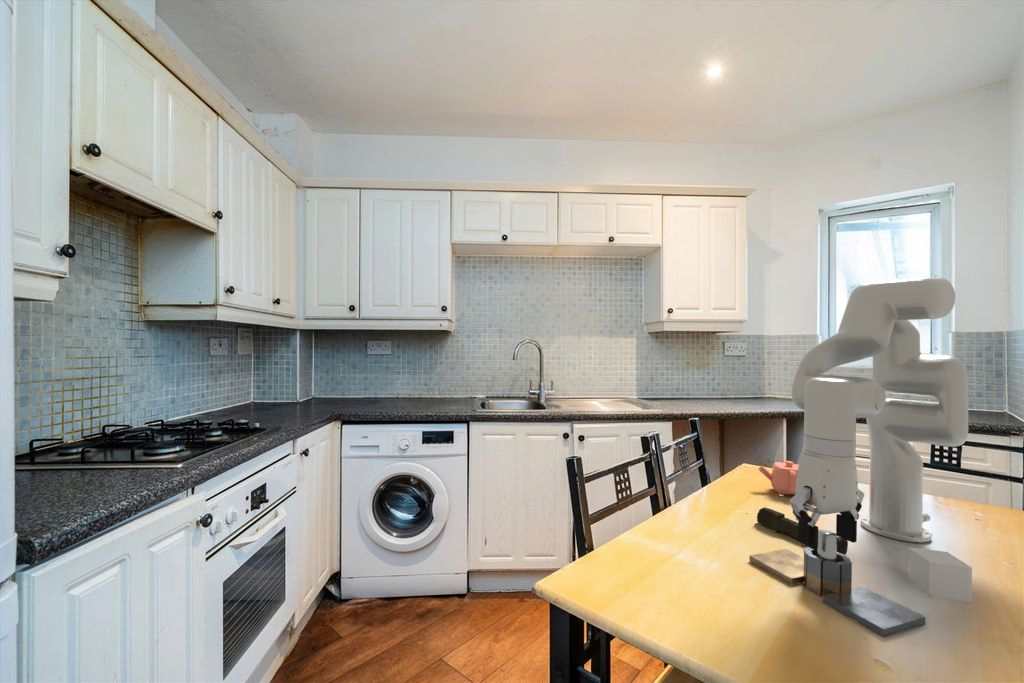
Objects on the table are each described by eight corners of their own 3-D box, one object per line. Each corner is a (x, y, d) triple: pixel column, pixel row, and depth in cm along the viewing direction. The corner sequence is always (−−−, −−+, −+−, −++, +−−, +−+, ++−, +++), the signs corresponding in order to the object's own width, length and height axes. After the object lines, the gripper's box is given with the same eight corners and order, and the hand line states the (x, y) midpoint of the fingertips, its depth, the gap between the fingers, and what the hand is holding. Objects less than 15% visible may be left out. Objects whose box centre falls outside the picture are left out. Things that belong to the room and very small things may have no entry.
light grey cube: (946, 584, 80) (947, 551, 80) (971, 602, 74) (972, 567, 74) (907, 578, 82) (908, 546, 82) (929, 596, 76) (929, 561, 76)
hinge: (785, 554, 90) (786, 525, 90) (925, 624, 68) (926, 586, 68) (749, 561, 87) (749, 531, 87) (883, 637, 64) (884, 596, 64)
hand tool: (850, 556, 90) (850, 534, 90) (838, 559, 89) (838, 537, 89) (764, 522, 108) (765, 503, 108) (753, 524, 106) (754, 505, 106)
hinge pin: (824, 583, 79) (824, 528, 79) (840, 591, 76) (840, 535, 76) (813, 586, 78) (813, 530, 78) (829, 594, 75) (829, 537, 75)
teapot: (756, 489, 132) (756, 458, 133) (785, 486, 136) (785, 455, 136) (791, 502, 121) (791, 468, 122) (821, 498, 125) (822, 465, 125)
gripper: (840, 440, 84) (839, 528, 84) (774, 444, 78) (772, 539, 78) (884, 449, 77) (883, 545, 76) (815, 455, 71) (813, 559, 71)
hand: (827, 542), depth 77 cm, fingers open, 9 cm apart
